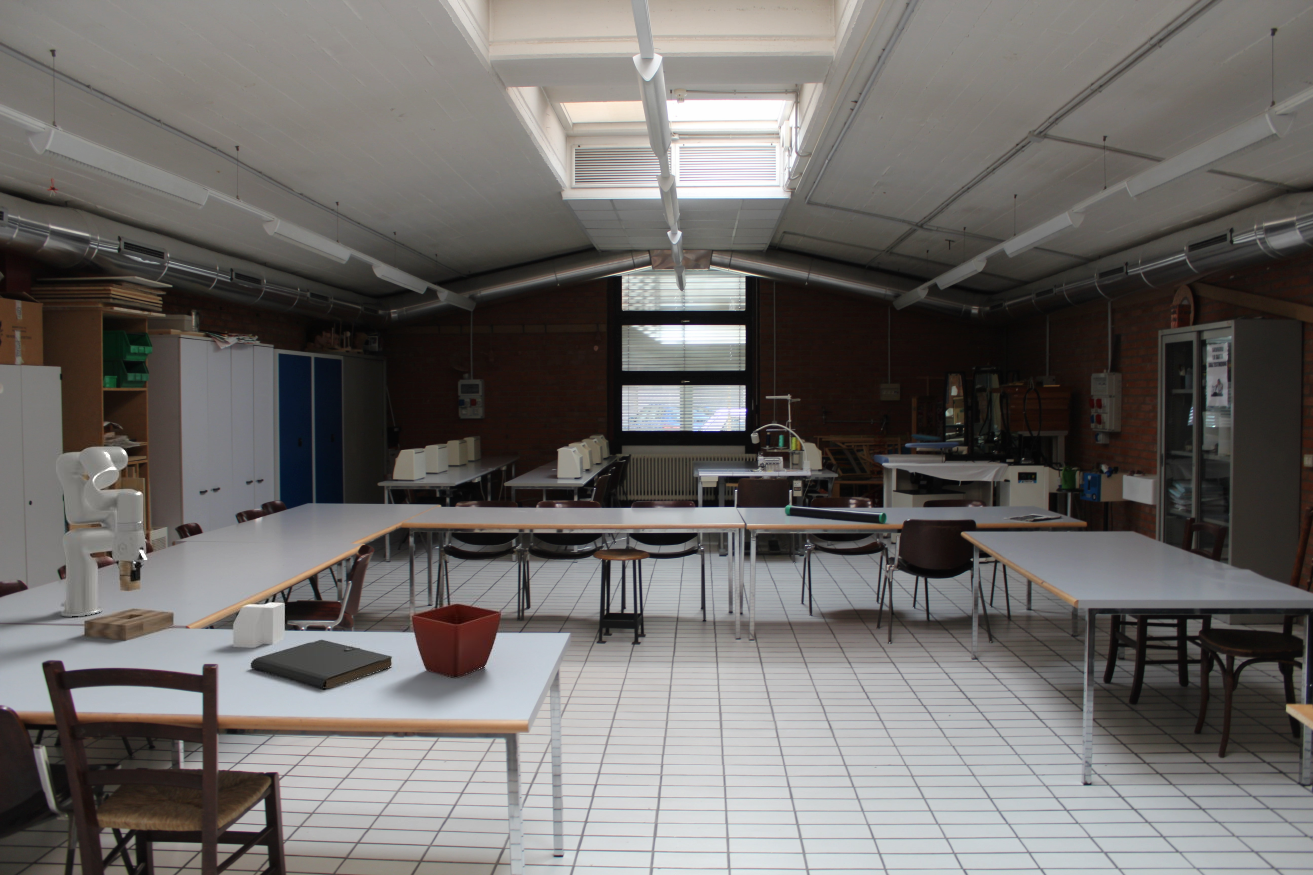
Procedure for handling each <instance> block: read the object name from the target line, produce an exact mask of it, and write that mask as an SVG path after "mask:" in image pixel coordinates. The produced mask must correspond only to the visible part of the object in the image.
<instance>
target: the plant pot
mask: <svg viewBox="0 0 1313 875" xmlns="http://www.w3.org/2000/svg"><path fill="white" fill-rule="evenodd" d="M501 618H502V611H496V610H493V609H488V608H482V607H477V606H472V605H467V604H462V603H452V604H449V605H445V606H441V607H438V608H437V607H436V608H434V609H430V610H426V611H422V612H419V613H414V614H411V622H412V628H413V633H414V638H415V642H416V646H417V649H418V652H419V655H420V658H421V661H422V663H423V666H424V668H425V670H426V671H428V672H430V673H431V672H432V673H434V672H435V674H438V673H439V674H438V675H442V674H443V675H444V676H446V675H447V676H446V677H449V676H450V677H451V678H453V677H454V678H453V679H456V678H455V677H457V678H460V677H463V676H465V675H464V674H466V673H468V674H470V673H469V672H471V673H473V672H472V671H474V670H476V671H478V670H477V669H479V668H481V667H484V666H485V665H487V663H488V661H489V658H490V657H491V656H490V655H491V653H492V650H493V648H494V645H495V641H496V638H497V635H498V634H497V633H498V631H499V626H500V622H501ZM485 667H486V666H485ZM485 667H484V668H485ZM479 670H480V669H479ZM474 672H475V671H474ZM462 675H463V676H462ZM466 675H467V674H466ZM459 676H460V677H459ZM450 677H449V678H450Z"/></svg>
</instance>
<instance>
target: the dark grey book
mask: <svg viewBox="0 0 1313 875" xmlns="http://www.w3.org/2000/svg"><path fill="white" fill-rule="evenodd" d="M392 660H393V656H392V655H387V654H384V653H378V652H375V651H370V650H366V649H362V648H360V647H354V646H349V645H346V644H341V643H337V642H333V641H329V640H325V639H319V640H316V641H315V640H314V641H312V642H307V643H303V644H299V645H296V646H293V647H290V648H286V649H283V650H279V651H275V652H272V653H269V654H265V655H262V656H258V657H256V658H253V660H251V662H250V668H251V669H252V670H255V671H257V672H261V671H262V673H265V672H266V674H268V673H269V675H272V674H273V675H272V676H275V675H276V676H275V677H279V678H282V679H286V680H289V681H293V682H297V683H300V684H302V685H303V684H304V685H307V686H310V687H313V688H317V689H321V690H324V691H325V690H327V689H331V688H335V687H338V686H340V684H341V685H344V684H346V683H345V682H347V683H349V681H350V682H352V681H351V680H353V681H355V680H354V679H356V680H358V679H357V678H359V679H361V678H360V677H362V678H364V677H365V676H364V675H367V674H370V673H373V672H376V671H379V670H382V669H385V668H388V667H390V666H391V667H392V664H393V661H392ZM391 667H390V668H391ZM388 669H389V668H388ZM385 670H386V669H385ZM382 671H383V670H382ZM379 672H380V671H379ZM376 673H377V672H376ZM373 674H374V673H373ZM370 675H371V674H370ZM363 676H364V677H363ZM367 676H368V675H367ZM343 683H344V684H343ZM324 687H326V688H324Z"/></svg>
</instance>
